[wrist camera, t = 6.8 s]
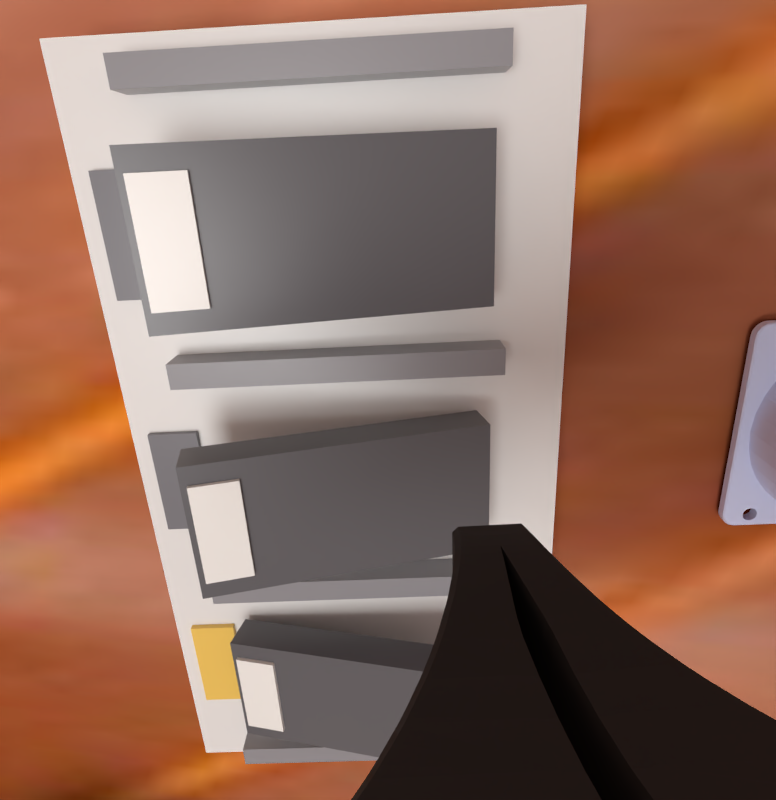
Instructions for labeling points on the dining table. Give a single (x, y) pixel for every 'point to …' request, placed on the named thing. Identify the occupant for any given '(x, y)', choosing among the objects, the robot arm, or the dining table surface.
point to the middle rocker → (333, 500)
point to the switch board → (339, 339)
